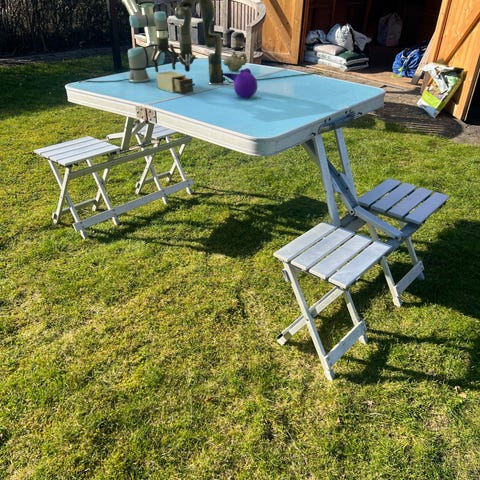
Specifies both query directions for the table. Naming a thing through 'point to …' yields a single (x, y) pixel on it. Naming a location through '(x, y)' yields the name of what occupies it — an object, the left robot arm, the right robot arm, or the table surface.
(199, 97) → the table surface
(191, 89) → the drawer
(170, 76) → the tan cardboard carton
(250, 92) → the toy
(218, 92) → the table surface
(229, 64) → the teapot
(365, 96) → the table surface
